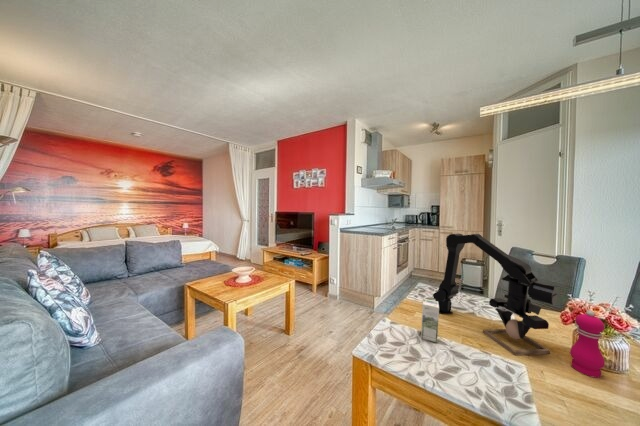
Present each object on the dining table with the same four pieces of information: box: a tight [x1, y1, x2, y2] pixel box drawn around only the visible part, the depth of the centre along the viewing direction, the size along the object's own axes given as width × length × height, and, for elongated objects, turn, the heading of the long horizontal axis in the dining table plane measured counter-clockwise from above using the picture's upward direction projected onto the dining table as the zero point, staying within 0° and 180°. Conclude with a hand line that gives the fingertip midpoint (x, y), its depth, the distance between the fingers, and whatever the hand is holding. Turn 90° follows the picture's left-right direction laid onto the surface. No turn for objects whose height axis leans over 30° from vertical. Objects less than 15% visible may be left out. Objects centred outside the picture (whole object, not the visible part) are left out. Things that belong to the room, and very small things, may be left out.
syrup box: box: [420, 298, 440, 344], centre depth 88 cm, size 6×6×14 cm
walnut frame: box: [482, 328, 551, 357], centre depth 87 cm, size 14×14×1 cm
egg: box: [505, 318, 521, 340], centre depth 86 cm, size 5×5×7 cm
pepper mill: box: [569, 310, 606, 378], centre depth 72 cm, size 7×7×20 cm
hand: (514, 333), depth 87 cm, fingers closed on egg, 5 cm apart
